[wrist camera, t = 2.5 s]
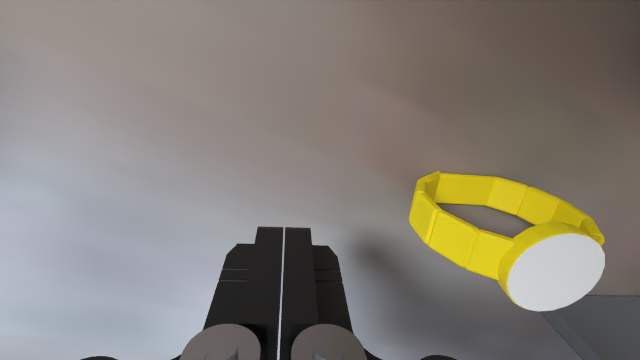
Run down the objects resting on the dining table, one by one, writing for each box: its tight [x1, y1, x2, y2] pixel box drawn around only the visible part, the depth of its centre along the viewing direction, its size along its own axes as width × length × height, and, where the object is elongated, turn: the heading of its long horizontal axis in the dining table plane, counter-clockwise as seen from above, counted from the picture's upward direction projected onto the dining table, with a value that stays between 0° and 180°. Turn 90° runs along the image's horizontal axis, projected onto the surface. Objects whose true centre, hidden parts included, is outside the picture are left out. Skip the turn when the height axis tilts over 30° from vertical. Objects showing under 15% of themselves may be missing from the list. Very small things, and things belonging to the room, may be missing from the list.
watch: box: [409, 171, 605, 311], centre depth 12 cm, size 6×3×6 cm, turn 84°
